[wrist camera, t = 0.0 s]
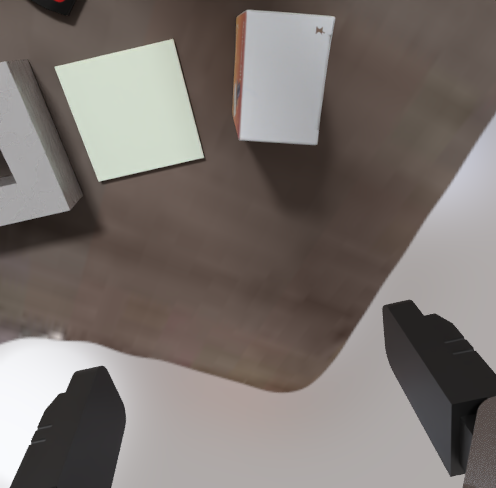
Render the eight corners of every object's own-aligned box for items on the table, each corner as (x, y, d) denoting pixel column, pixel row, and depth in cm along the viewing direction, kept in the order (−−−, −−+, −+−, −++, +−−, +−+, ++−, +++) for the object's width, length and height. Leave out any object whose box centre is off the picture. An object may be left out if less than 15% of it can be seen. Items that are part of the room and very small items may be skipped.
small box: (235, 15, 34) (244, 4, 24) (303, 21, 34) (337, 13, 25) (230, 116, 37) (236, 142, 28) (292, 120, 38) (318, 146, 28)
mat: (56, 66, 34) (54, 66, 34) (173, 39, 34) (173, 38, 34) (99, 180, 39) (98, 181, 39) (204, 156, 39) (203, 157, 38)
